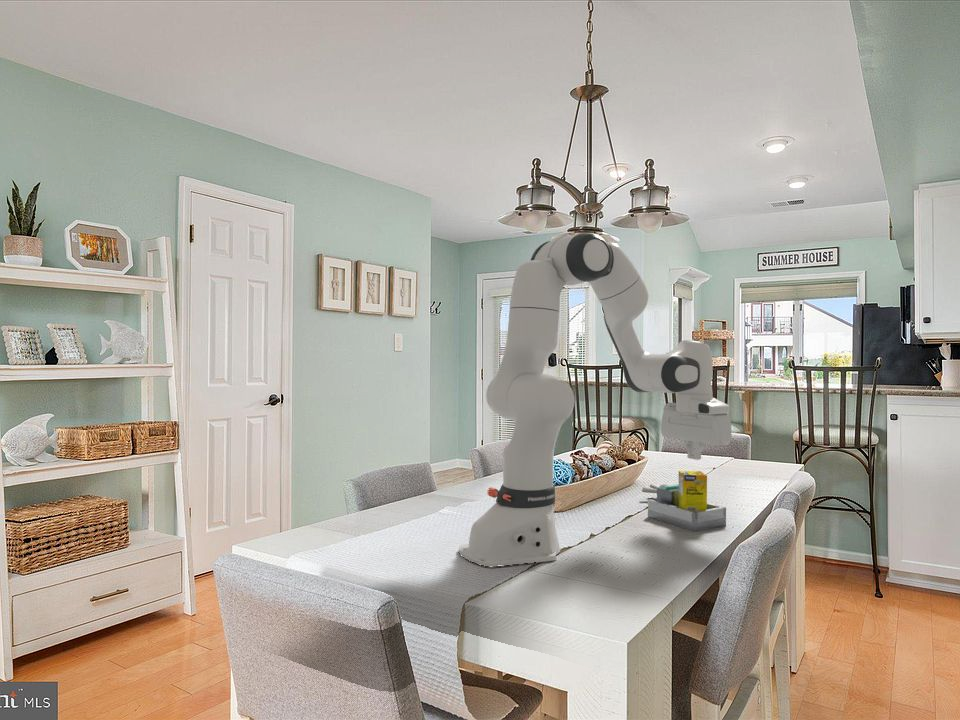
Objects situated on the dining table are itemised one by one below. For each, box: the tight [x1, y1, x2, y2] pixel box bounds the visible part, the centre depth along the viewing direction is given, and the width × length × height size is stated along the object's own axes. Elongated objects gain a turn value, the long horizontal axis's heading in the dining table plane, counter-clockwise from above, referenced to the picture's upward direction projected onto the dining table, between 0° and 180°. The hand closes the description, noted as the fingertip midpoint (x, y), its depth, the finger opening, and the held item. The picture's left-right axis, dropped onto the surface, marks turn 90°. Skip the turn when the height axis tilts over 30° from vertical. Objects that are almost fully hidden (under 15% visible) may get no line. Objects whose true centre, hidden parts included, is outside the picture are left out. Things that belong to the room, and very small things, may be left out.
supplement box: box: [678, 470, 708, 511], centre depth 167 cm, size 6×6×11 cm
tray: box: [647, 483, 727, 532], centre depth 169 cm, size 11×16×8 cm
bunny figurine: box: [641, 482, 677, 494], centre depth 191 cm, size 10×5×15 cm
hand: (694, 458), depth 167 cm, fingers closed
